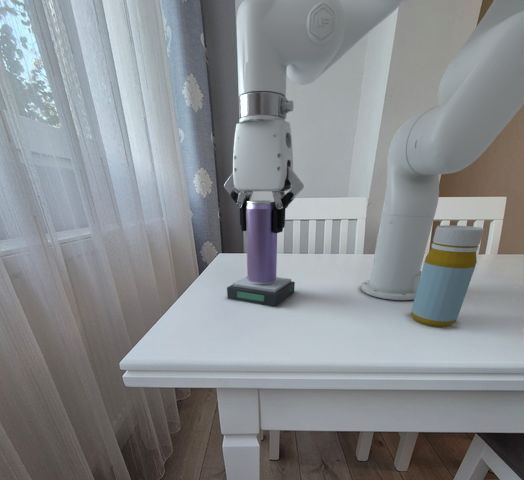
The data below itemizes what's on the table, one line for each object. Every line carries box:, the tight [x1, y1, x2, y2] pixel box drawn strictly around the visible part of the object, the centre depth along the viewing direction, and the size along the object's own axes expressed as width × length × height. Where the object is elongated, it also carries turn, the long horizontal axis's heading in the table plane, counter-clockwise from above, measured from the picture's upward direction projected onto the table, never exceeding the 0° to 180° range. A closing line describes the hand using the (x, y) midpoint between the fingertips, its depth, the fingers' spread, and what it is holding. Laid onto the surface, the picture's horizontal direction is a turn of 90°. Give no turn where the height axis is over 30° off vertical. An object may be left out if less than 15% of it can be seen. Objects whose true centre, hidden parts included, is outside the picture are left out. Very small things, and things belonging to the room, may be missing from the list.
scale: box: [226, 275, 296, 308], centre depth 62 cm, size 11×10×3 cm
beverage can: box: [245, 200, 278, 285], centre depth 58 cm, size 6×6×15 cm
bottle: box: [410, 224, 485, 328], centre depth 47 cm, size 7×7×15 cm
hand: (261, 230), depth 56 cm, fingers closed on beverage can, 6 cm apart
